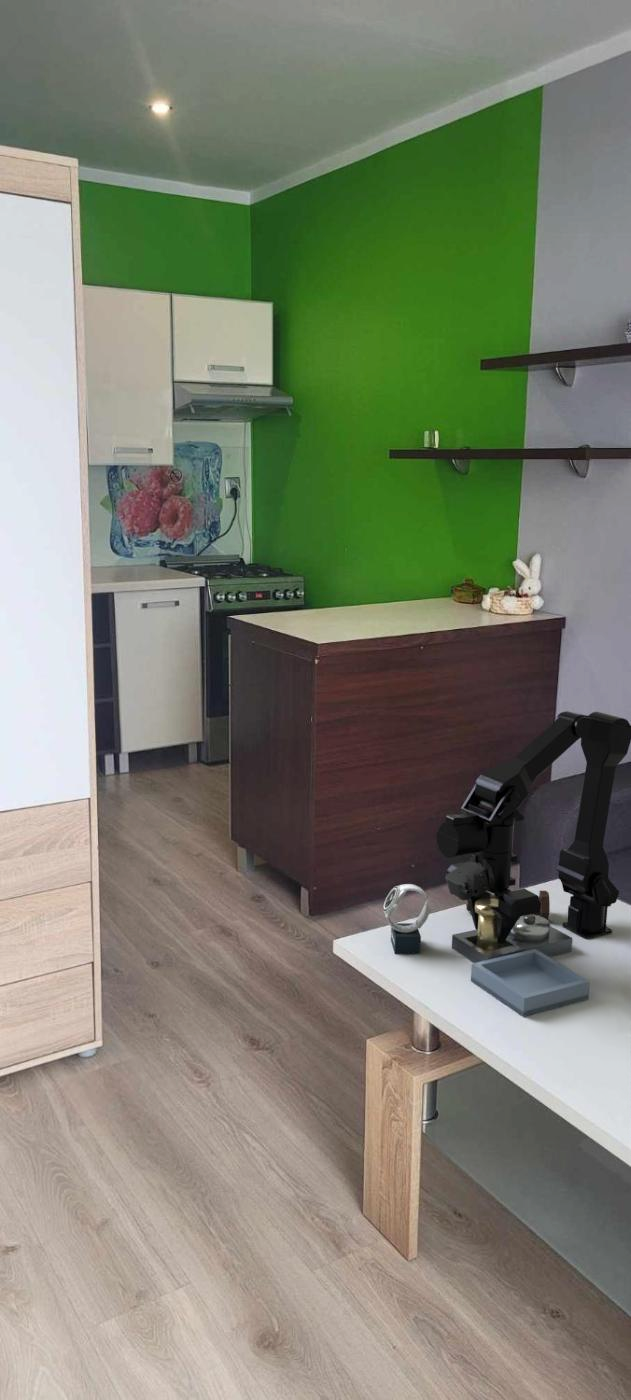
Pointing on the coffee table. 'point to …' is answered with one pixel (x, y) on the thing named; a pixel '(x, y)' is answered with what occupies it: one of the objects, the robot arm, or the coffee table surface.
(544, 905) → the bolt
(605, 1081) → the coffee table surface
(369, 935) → the coffee table surface
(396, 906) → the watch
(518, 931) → the block
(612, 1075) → the coffee table surface
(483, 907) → the pin
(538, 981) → the tray
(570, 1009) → the coffee table surface
